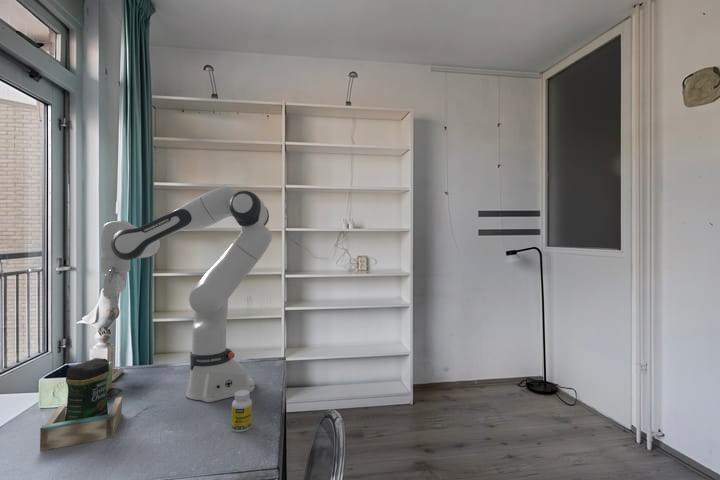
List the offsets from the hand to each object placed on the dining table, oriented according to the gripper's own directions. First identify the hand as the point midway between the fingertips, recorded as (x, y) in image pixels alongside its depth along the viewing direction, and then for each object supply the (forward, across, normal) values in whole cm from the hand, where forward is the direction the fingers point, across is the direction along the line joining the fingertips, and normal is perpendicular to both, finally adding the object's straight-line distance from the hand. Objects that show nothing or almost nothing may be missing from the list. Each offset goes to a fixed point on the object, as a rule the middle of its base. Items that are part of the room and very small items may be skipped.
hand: (114, 306), depth 126 cm
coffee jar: (+29, -29, +2) cm, 41 cm away
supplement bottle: (+29, -46, -37) cm, 66 cm away
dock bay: (+29, -29, +2) cm, 41 cm away
